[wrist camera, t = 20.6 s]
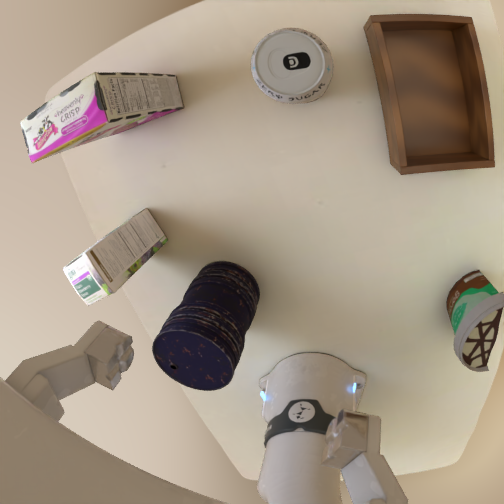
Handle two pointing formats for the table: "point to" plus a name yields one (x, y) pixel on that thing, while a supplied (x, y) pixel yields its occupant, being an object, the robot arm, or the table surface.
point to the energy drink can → (292, 66)
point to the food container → (474, 319)
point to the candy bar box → (98, 110)
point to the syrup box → (115, 258)
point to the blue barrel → (208, 327)
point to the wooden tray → (432, 92)
